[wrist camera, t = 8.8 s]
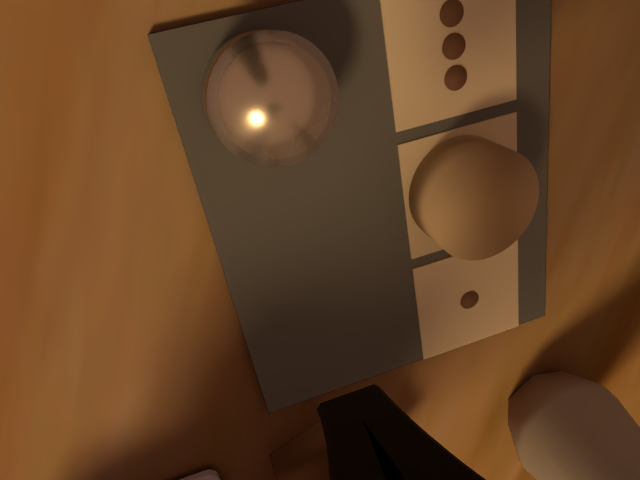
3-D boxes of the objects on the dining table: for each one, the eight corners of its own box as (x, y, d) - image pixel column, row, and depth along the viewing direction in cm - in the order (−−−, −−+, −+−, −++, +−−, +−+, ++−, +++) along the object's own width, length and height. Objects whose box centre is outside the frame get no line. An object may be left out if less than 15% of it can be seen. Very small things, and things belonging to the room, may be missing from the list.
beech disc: (415, 253, 22) (438, 275, 20) (401, 153, 19) (425, 168, 18) (509, 221, 22) (539, 240, 20) (505, 121, 20) (538, 133, 18)
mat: (267, 408, 23) (269, 415, 23) (147, 34, 16) (147, 35, 16) (540, 312, 26) (546, 316, 25) (546, -55, 18) (554, -56, 18)
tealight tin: (273, 175, 18) (287, 193, 16) (176, 105, 17) (178, 115, 15) (343, 83, 18) (365, 90, 16) (251, 0, 16) (263, -3, 14)
